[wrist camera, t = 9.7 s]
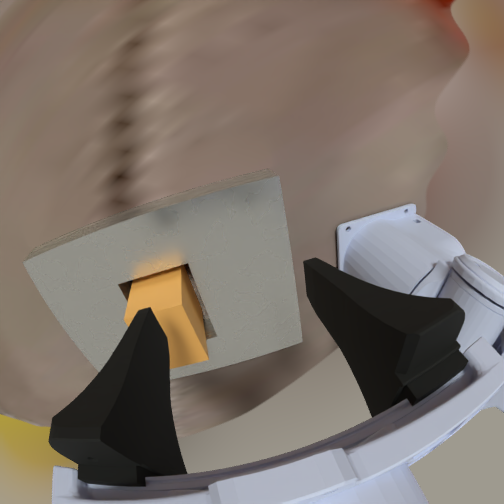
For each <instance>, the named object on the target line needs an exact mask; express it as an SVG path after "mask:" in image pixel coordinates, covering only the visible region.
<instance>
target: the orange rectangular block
mask: <svg viewBox="0 0 504 504" xmlns="http://www.w3.org/2000/svg"><path fill="white" fill-rule="evenodd" d="M148 307H151V309H152V311H153V313H154V315H155V317H156V318H157V320H158V322H159V324H160V326H161V327H162V329H163V331H164V332H165V334H166V336H167V339H168V346H169V354H170V369H173V368H177V367H181V366H186V365H190V364H194V363H198V362H202V361H206V360H209V356H208V350H207V343H206V336H205V329H204V322H203V314H202V308H201V306H200V303H199V301H198V299H197V296H196V294H195V291H194V289H193V286H192V284H191V281H190V279H189V276H188V274H187V271H186V269H185V266H184V264H183V265H180V266H177V267H173V268H170V269H167V270H163V271H160V272H157V273H153V274H150V275H147V276H144V277H140V278H137V279H134V280H133V282H132V286H131V290H130V294H129V298H128V303H127V307H126V312H125V317H124V321H125V323H126V324H127V326H128V327H129V325H130V323H131V322H132V320H133V318H134V316H135V315H136V313H137V312H138V310H141V309H144V308H148Z"/></svg>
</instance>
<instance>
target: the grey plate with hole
mask: <svg viewBox="0 0 504 504" xmlns="http://www.w3.org/2000/svg"><path fill="white" fill-rule="evenodd" d="M187 263H188V265H189V267H190V270H191V273H192V275H193V278H194V280H195V283H196V286H197V288H198V291H199V293H200V296H201V298H202V301H203V303H204V306H205V308H206V311H207V313H208V315H209V318H210V319H207V320H203V322H204V329H205V336H206V343H207V350H208V356H209V360H206V361H202V362H198V363H194V364H190V365H186V366H181V367H177V368H173V369H170V380H171V379H176V378H180V377H185V376H189V375H193V374H197V373H202V372H206V371H210V370H213V369H217V368H221V367H225V366H228V365H232V364H236V363H239V362H242V361H246V360H249V359H253V358H256V357H259V356H262V355H265V354H269V353H272V352H275V351H278V350H281V349H284V348H287V347H290V346H292V345H295V344H298V343H301V342H303V341H302V332H301V324H300V315H299V307H298V299H297V291H296V284H295V276H294V269H293V262H292V255H291V248H290V241H289V235H288V228H287V222H286V215H285V209H284V203H283V197H282V191H281V185H280V179H279V175H277V174H275V173H274V172H272V171H271V170H269V169H264V170H260V171H256V172H252V173H248V174H244V175H240V176H236V177H232V178H229V179H225V180H221V181H218V182H214V183H210V184H207V185H203V186H200V187H196V188H193V189H190V190H186V191H183V192H180V193H177V194H173V195H170V196H167V197H164V198H161V199H158V200H155V201H152V202H149V203H146V204H143V205H140V206H137V207H134V208H132V209H129V210H126V211H123V212H120V213H118V214H115V215H112V216H110V217H107V218H104V219H102V220H99V221H97V222H94V223H91V224H89V225H86V226H84V227H81V228H79V229H77V230H74V231H72V232H69V233H67V234H65V235H62V236H60V237H58V238H55V239H53V240H51V241H49V242H46V243H44V244H42V245H40V246H38V247H35V248H34V250H33V251H32V252H31V253H30V254H29V255H28V256H27V258H26V259H25V260H24V261H23V264H24V266H25V268H26V270H27V271H28V273H29V275H30V277H31V279H32V280H33V282H34V284H35V286H36V287H37V289H38V291H39V292H40V294H41V295H42V297H43V299H44V300H45V302H46V303H47V305H48V306H49V308H50V309H51V311H52V312H53V314H54V315H55V317H56V318H57V320H58V321H59V323H60V324H61V325H62V327H63V328H64V330H65V331H66V332H67V334H68V335H69V336H70V338H71V339H72V340H73V342H74V343H75V344H76V345H77V347H78V348H79V349H80V350H81V352H82V353H83V354H84V355H85V357H86V358H87V359H88V360H89V361H90V363H91V364H92V365H93V366H94V367H95V368H96V369H97V371H98V372H100V371H101V369H102V368H103V367H104V365H105V364H106V363H107V361H108V360H109V358H110V357H111V355H112V353H113V352H114V350H115V349H116V347H117V345H118V344H119V342H120V341H121V339H122V337H123V335H124V334H125V332H126V330H127V329H128V326H127V324H126V323H125V321H124V317H125V312H126V307H127V303H128V298H129V294H130V290H131V286H132V283H131V281H130V280H134V279H137V278H140V277H144V276H147V275H150V274H153V273H157V272H160V271H163V270H167V269H170V268H173V267H177V266H180V265H183V264H187Z"/></svg>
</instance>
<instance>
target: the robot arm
mask: <svg viewBox="0 0 504 504" xmlns="http://www.w3.org/2000/svg"><path fill="white" fill-rule="evenodd" d="M404 211H405V212H404ZM348 226H349V227H348ZM347 227H348V229H347V230H346V228H347ZM337 250H338V269H337V268H335V267H333V266H331V265H329V264H328V263H326V262H324V261H322V260H320V259H318V258H312V259H309V260H306V261H303V264H304V272H305V282H306V292H307V297H308V299H309V301H310V303H311V305H312V307H313V309H314V311H315V313H316V314H317V316H318V317H319V319H320V320H321V321H322V323H323V324H324V326H325V327H326V329H327V330H328V332H329V333H330V335H331V336H332V337H333V339H334V340H335V342H336V343H337V345H338V346H339V348H340V349H341V351H342V353H343V355H344V356H345V358H346V360H347V362H348V364H349V366H350V368H351V370H352V372H353V374H354V376H355V378H356V380H357V383H358V385H359V387H360V389H361V392H362V394H363V396H364V398H365V401H366V403H367V406H368V408H369V411H370V413H371V416H372V418H371V419H369V420H367V421H365V422H363V423H360V424H358V425H356V426H354V427H352V428H350V429H348V430H345V431H343V432H341V433H339V434H336V435H334V436H331V437H329V438H327V439H324V440H321V441H319V442H316V443H314V444H311V445H308V446H306V447H302V448H300V449H297V450H294V451H291V452H287V453H284V454H281V455H278V456H275V457H271V458H267V459H264V460H260V461H256V462H252V463H247V464H243V465H239V466H234V467H229V468H224V469H218V470H212V471H206V472H200V473H191V474H187V471H186V468H185V465H184V462H183V459H182V456H181V452H180V448H179V444H178V440H177V436H176V431H175V426H174V421H173V415H172V409H171V400H170V354H169V346H168V339H167V336H166V334H165V332H164V331H163V329H162V327H161V326H160V324H159V322H158V320H157V318H156V317H155V315H154V313H153V311H152V309H151V307H148V308H144V309H141V310H138V312H137V313H136V315H135V316H134V318H133V320H132V322H131V323H130V325H129V327H128V329H127V330H126V332H125V334H124V335H123V337H122V339H121V341H120V342H119V344H118V345H117V347H116V349H115V350H114V352H113V353H112V355H111V357H110V358H109V360H108V361H107V363H106V364H105V365H104V367H103V368H102V369H101V371H100V372H99V373H98V375H97V376H96V377H95V378H94V379H93V380H92V382H91V383H90V384H89V385H88V386H87V387H86V388H85V390H84V391H83V392H82V393H81V394H80V395H79V396H78V397H77V398H75V399H74V400H73V401H72V402H71V403H70V404H69V405H68V406H66V407H65V408H64V409H63V410H61V411H60V412H59V413H58V414H56V415H55V416H54V417H53V418H52V423H51V429H50V436H49V443H50V445H51V447H52V448H53V449H54V450H56V451H57V452H58V453H60V454H61V455H63V456H65V457H67V458H68V459H70V460H72V461H74V462H75V463H77V464H78V470H77V469H73V468H69V467H61V466H54V468H53V483H52V504H429V503H428V501H427V499H426V497H425V495H424V494H423V492H422V490H421V488H420V486H419V485H418V483H417V481H416V479H415V477H414V476H413V474H412V472H411V470H410V469H409V466H410V465H412V464H413V463H415V462H416V461H418V460H419V459H421V458H422V457H424V456H425V455H427V454H428V453H429V452H431V451H432V450H434V449H435V448H436V447H438V446H439V445H440V444H442V443H443V442H444V441H445V440H447V439H448V438H449V437H450V436H451V435H453V434H454V433H455V432H457V431H458V430H459V429H460V428H461V427H462V426H464V425H465V424H466V423H467V422H468V421H469V420H470V419H471V418H472V417H474V416H475V415H476V414H477V413H478V412H479V411H480V410H482V409H486V408H490V407H497V408H498V409H499V410H501V411H502V412H503V413H504V276H503V275H501V274H500V273H499V272H497V271H496V270H495V269H493V268H492V267H490V266H489V265H487V264H486V263H484V262H482V261H481V260H479V259H477V258H475V257H473V256H471V255H468V254H466V253H465V251H464V249H463V247H462V245H461V244H460V243H459V241H458V240H457V239H456V238H455V237H453V236H452V235H450V234H449V233H447V232H446V231H444V230H442V229H441V228H439V227H437V226H436V225H434V224H432V223H431V222H429V221H427V220H426V219H424V218H422V217H421V216H419V215H417V214H416V206H415V205H414V204H408V205H404V206H401V207H398V208H394V209H391V210H387V211H384V212H380V213H377V214H374V215H370V216H367V217H363V218H360V219H357V220H353V221H350V222H346V223H343V224H340V225H339V226H338V227H337Z"/></svg>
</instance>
